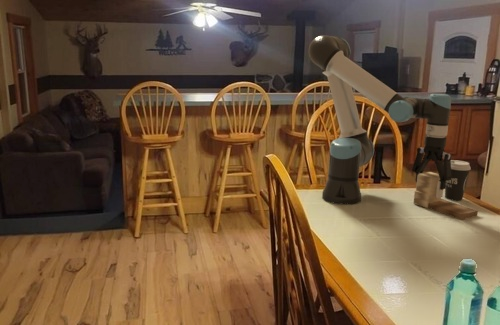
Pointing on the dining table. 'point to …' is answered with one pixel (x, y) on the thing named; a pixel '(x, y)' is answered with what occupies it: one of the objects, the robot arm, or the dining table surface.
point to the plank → (453, 209)
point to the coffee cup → (457, 180)
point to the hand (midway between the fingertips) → (428, 193)
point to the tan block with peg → (426, 189)
